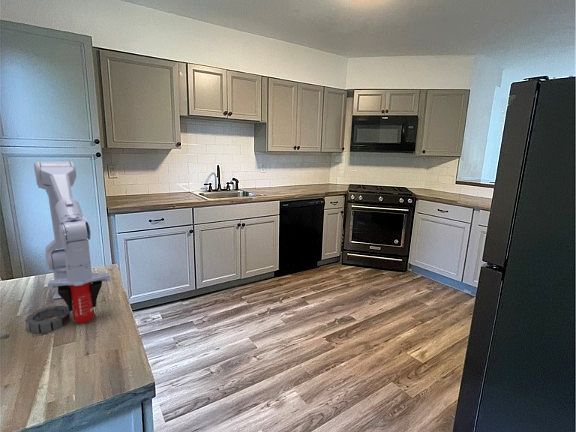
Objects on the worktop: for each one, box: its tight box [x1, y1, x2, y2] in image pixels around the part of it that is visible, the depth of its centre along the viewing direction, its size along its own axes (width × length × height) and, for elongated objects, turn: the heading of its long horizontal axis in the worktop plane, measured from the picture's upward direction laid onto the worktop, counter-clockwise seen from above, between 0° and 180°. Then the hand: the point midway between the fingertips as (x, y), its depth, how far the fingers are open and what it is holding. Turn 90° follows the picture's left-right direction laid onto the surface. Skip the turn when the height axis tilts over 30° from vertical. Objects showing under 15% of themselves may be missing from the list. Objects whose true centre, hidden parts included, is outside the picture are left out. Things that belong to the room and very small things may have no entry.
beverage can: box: [70, 282, 96, 325], centre depth 90 cm, size 5×5×12 cm
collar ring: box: [25, 305, 73, 334], centre depth 89 cm, size 10×10×2 cm
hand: (83, 307), depth 91 cm, fingers open, 5 cm apart
